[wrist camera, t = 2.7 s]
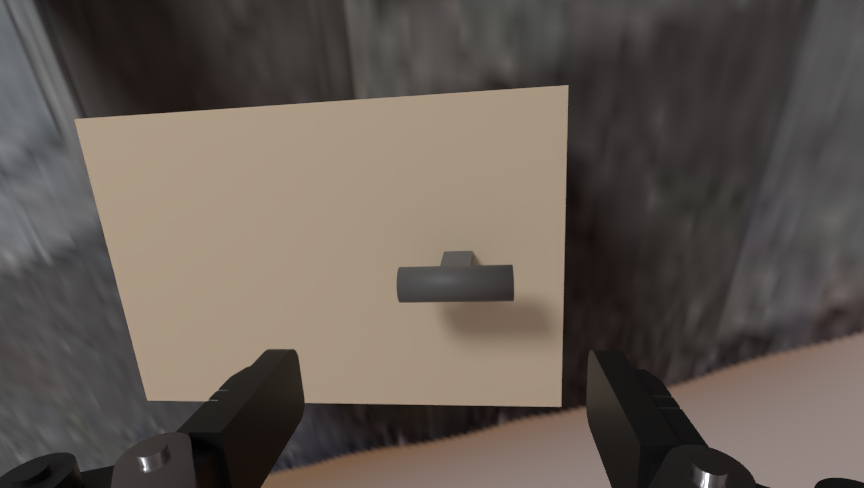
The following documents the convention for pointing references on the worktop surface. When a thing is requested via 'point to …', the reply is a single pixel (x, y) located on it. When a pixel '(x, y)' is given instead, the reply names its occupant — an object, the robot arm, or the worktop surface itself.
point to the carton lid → (344, 244)
